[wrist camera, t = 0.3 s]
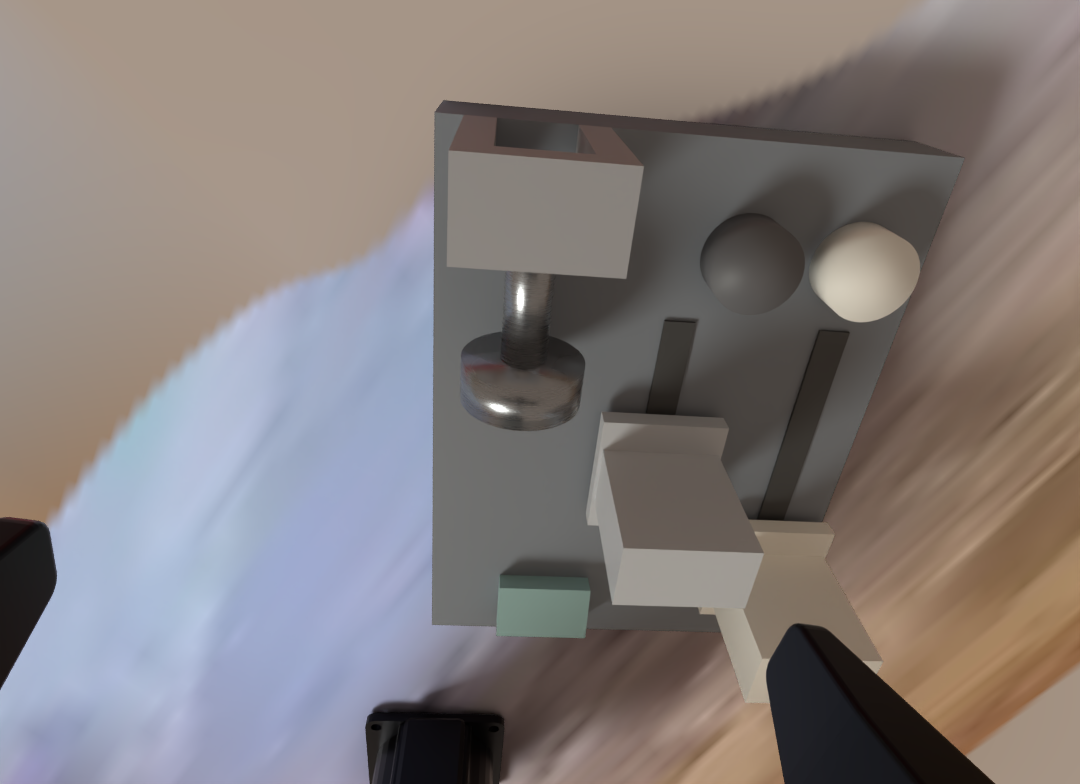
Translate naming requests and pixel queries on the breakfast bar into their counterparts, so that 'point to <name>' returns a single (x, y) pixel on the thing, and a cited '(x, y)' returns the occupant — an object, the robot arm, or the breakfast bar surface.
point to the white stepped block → (670, 513)
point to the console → (658, 327)
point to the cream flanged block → (788, 603)
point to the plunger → (522, 363)
